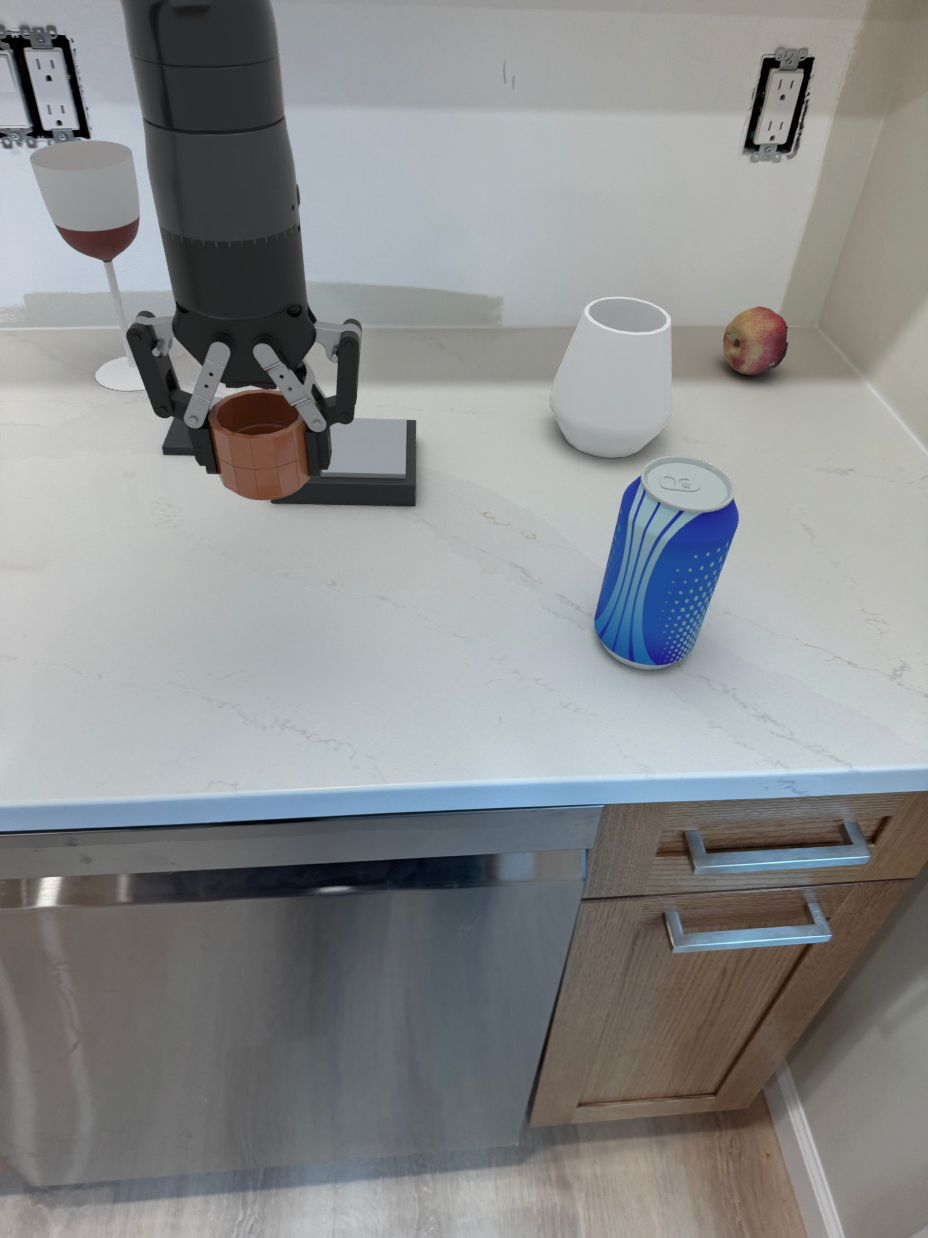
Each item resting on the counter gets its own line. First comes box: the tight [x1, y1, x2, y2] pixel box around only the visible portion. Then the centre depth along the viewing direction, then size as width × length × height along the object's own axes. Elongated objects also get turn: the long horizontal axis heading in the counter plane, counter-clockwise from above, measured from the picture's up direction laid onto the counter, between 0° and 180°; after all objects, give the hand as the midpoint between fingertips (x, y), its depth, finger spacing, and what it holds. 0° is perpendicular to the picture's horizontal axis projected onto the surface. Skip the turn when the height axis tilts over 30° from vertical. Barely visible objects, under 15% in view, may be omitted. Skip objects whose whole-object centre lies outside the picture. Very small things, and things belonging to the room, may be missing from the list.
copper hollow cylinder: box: [208, 388, 311, 501], centre depth 55 cm, size 6×6×5 cm
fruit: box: [722, 305, 789, 376], centre depth 102 cm, size 8×8×8 cm
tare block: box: [161, 417, 194, 456], centre depth 87 cm, size 10×8×2 cm
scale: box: [270, 417, 417, 507], centre depth 83 cm, size 14×12×3 cm
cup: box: [548, 296, 673, 459], centre depth 87 cm, size 13×13×14 cm
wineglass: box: [29, 139, 146, 392], centre depth 88 cm, size 9×10×23 cm
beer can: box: [593, 455, 740, 671], centre depth 63 cm, size 8×8×16 cm
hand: (266, 468), depth 56 cm, fingers closed on copper hollow cylinder, 6 cm apart
